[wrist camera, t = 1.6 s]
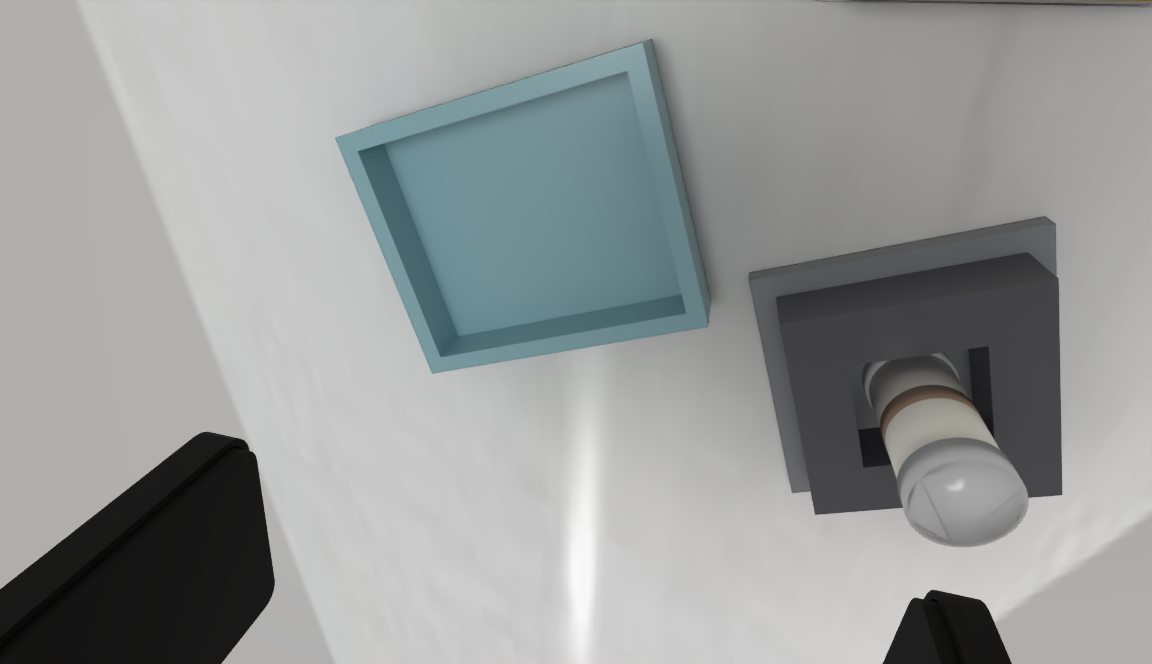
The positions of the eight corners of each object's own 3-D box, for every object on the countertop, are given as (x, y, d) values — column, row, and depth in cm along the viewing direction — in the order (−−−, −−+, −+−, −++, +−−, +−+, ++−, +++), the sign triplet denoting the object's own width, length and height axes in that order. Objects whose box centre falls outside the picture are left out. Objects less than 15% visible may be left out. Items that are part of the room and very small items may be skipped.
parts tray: (651, 39, 28) (642, 42, 25) (710, 300, 32) (708, 326, 30) (368, 127, 32) (335, 137, 30) (454, 347, 37) (432, 373, 34)
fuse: (949, 332, 30) (1026, 452, 22) (955, 405, 31) (1030, 543, 23) (857, 346, 31) (898, 464, 23) (867, 416, 32) (909, 550, 24)
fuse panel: (1045, 216, 28) (1090, 247, 24) (1051, 455, 32) (1089, 511, 29) (749, 273, 31) (750, 307, 28) (790, 480, 36) (796, 532, 32)
